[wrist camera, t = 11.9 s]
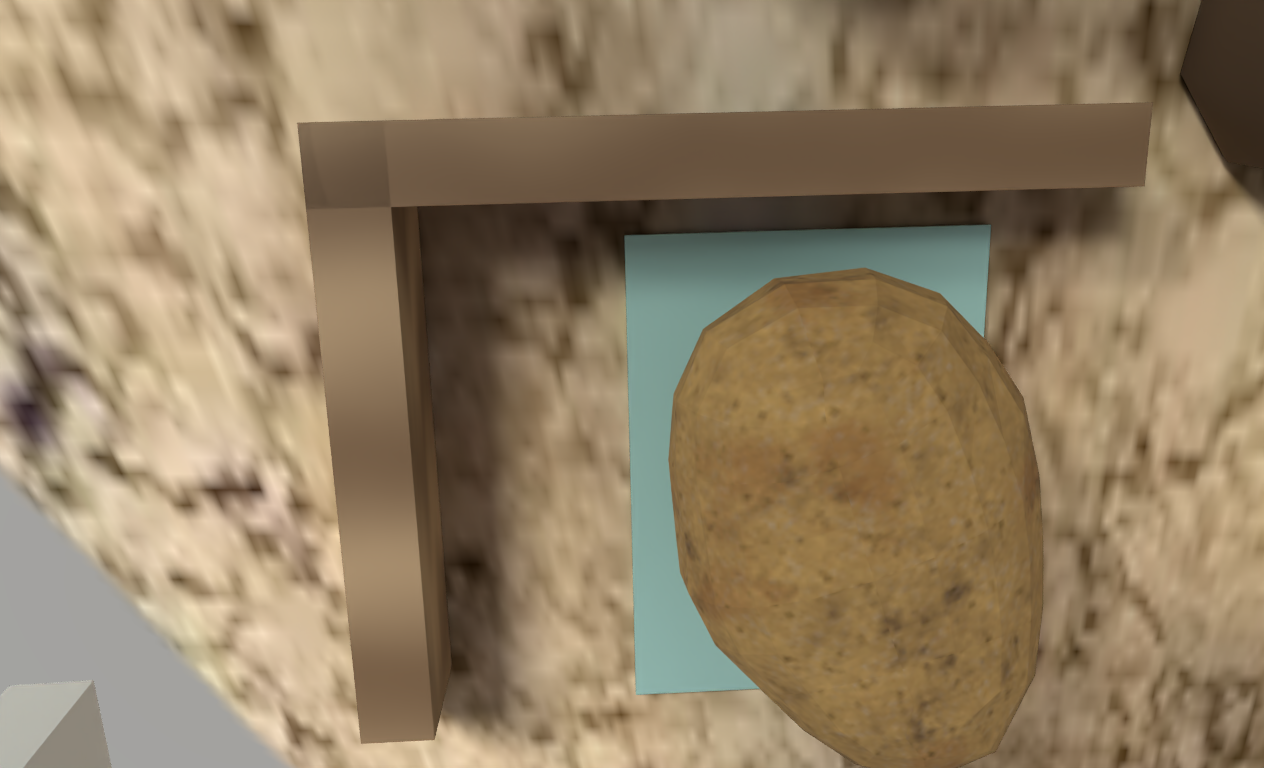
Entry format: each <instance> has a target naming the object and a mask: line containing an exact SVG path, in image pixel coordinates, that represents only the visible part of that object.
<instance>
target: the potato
mask: <svg viewBox="0 0 1264 768" xmlns="http://www.w3.org/2000/svg"><path fill="white" fill-rule="evenodd" d="M668 462H669V472H670V482H671V492H672V502H673V512H674V522H675V532H676V541H677V550H678V559H679V568H680V574H681V576H682V578H683V581H684V583H685V586H686V588H687V591H688V593H689V595H690V597H691V599H692V601H693V603H694V605H695V607H696V609H697V611H698V613H699V615H700V616H701V618H702V620H703V622H704V624H705V626H706V628H707V630H708V632H709V634H710V636H711V638H712V640H713V642H714V644H715V645H716V646H717V647H718V648H719V649H720V650H721V651H722V652H723V653H724V654H725V655H726V656H727V657H728V658H729V659H730V660H731V661H732V662H733V663H734V664H735V665H736V666H737V667H738V668H739V669H740V670H741V671H742V672H743V673H744V674H745V675H746V676H747V677H748V678H750V679H751V680H752V681H753V682H754V683H755V684H756V685H757V686H758V687H759V688H760V689H761V690H762V691H763V692H764V693H765V694H766V695H767V696H768V697H769V698H770V699H771V700H772V701H774V702H775V703H776V704H777V705H778V706H779V707H780V708H781V709H782V710H783V711H784V712H785V713H786V714H787V715H788V716H789V717H790V718H791V719H792V720H793V721H795V722H796V723H797V724H798V725H799V726H800V727H801V728H802V729H803V730H804V731H805V732H807V733H809V734H810V735H812V736H813V737H815V738H816V739H818V740H819V741H821V742H822V743H824V744H825V745H827V746H828V747H830V748H831V749H833V750H835V751H836V752H838V753H839V754H841V755H842V756H844V757H845V758H847V759H848V760H850V761H851V762H853V763H854V764H857V765H861V766H865V767H869V768H958V767H961V766H963V765H966V764H968V763H970V762H973V761H975V760H977V759H980V758H982V757H985V756H987V755H989V754H992V753H994V752H996V750H997V748H998V746H999V744H1000V742H1001V740H1002V738H1003V736H1004V734H1005V732H1006V730H1007V728H1008V726H1009V724H1010V723H1011V721H1012V719H1013V717H1014V715H1015V713H1016V711H1017V709H1018V707H1019V705H1020V703H1021V701H1022V699H1023V697H1024V695H1025V693H1026V691H1027V689H1028V687H1029V686H1030V684H1031V682H1032V680H1033V678H1034V676H1035V670H1036V661H1037V652H1038V644H1039V635H1040V626H1041V618H1042V609H1043V532H1042V515H1041V497H1040V480H1039V472H1038V467H1037V462H1036V457H1035V452H1034V447H1033V442H1032V438H1031V433H1030V428H1029V423H1028V418H1027V413H1026V408H1025V404H1024V399H1023V396H1022V395H1021V393H1020V392H1019V390H1018V389H1017V387H1016V385H1015V384H1014V382H1013V381H1012V379H1011V378H1010V376H1009V375H1008V373H1007V371H1006V370H1005V368H1004V367H1003V365H1002V364H1001V362H1000V360H999V359H998V357H997V356H996V354H995V353H994V351H993V350H992V348H991V346H990V345H989V343H988V342H987V341H986V340H985V339H984V338H983V337H982V336H981V335H980V334H979V333H978V332H977V331H976V330H975V328H974V327H973V326H972V325H971V324H970V323H969V322H968V321H967V320H966V319H965V318H964V317H963V316H962V315H961V314H960V313H959V312H958V311H957V310H956V309H955V308H954V307H953V306H952V305H951V304H950V303H949V302H948V301H947V300H946V299H945V298H944V297H943V296H942V295H941V294H940V293H938V292H935V291H933V290H930V289H927V288H924V287H921V286H918V285H915V284H912V283H909V282H906V281H903V280H900V279H897V278H894V277H892V276H889V275H886V274H883V273H880V272H877V271H874V270H871V269H868V268H857V269H848V270H840V271H831V272H823V273H815V274H806V275H798V276H789V277H781V278H774V279H772V280H771V281H770V282H768V283H767V284H765V285H764V286H763V287H761V288H760V289H758V290H757V291H756V292H754V293H753V294H751V295H750V296H749V297H747V298H746V299H744V300H743V301H742V302H740V303H739V304H737V305H736V306H735V307H733V308H732V309H730V310H729V311H728V312H726V313H725V314H723V315H722V316H720V317H719V318H718V319H716V320H715V321H713V322H712V323H711V324H709V325H708V326H706V327H705V328H704V329H703V330H702V332H701V334H700V337H699V339H698V341H697V343H696V345H695V348H694V350H693V352H692V354H691V356H690V359H689V361H688V363H687V365H686V367H685V370H684V372H683V374H682V376H681V378H680V381H679V383H678V385H677V387H676V390H675V392H674V394H673V406H672V419H671V432H670V444H669V457H668Z"/></svg>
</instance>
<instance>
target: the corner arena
mask: <svg viewBox="0 0 1264 768" xmlns="http://www.w3.org/2000/svg"><path fill="white" fill-rule="evenodd" d="M1152 106H1153V102H1151V103H1109V104H1067V105H1024V106H982V107H940V108H898V109H856V110H814V111H772V112H729V113H687V114H645V115H603V116H561V117H519V118H477V119H434V120H392V121H350V122H308V123H297V124H298V134H299V144H300V153H301V163H302V173H303V183H304V192H305V202H306V212H307V222H308V231H309V241H310V251H311V261H312V270H313V280H314V290H315V300H316V309H317V319H318V329H319V338H320V348H321V358H322V368H323V377H324V387H325V397H326V407H327V416H328V426H329V436H330V446H331V455H332V465H333V475H334V485H335V494H336V504H337V514H338V524H339V533H340V543H341V553H342V563H343V572H344V582H345V592H346V602H347V611H348V621H349V631H350V641H351V650H352V660H353V670H354V680H355V689H356V699H357V709H358V719H359V728H360V738H361V744H364V743H384V742H403V741H423V740H435V736H436V731H437V727H438V723H439V718H440V714H441V710H442V705H443V701H444V697H445V692H446V688H447V684H448V679H449V675H450V671H451V667H452V659H451V646H450V633H449V620H448V606H447V593H446V580H445V567H444V553H443V540H442V527H441V514H440V500H439V487H438V474H437V461H436V447H435V434H434V421H433V408H432V394H431V381H430V368H429V355H428V341H427V328H426V315H425V302H424V288H423V275H422V262H421V249H420V235H419V222H418V209H417V206H444V205H481V204H517V203H553V202H590V201H626V200H662V199H699V198H735V197H771V196H807V195H844V194H880V193H916V192H953V191H989V190H1025V189H1062V188H1098V187H1134V186H1144V185H1145V175H1146V165H1147V155H1148V145H1149V136H1150V126H1151V116H1152Z"/></svg>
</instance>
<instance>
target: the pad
mask: <svg viewBox="0 0 1264 768" xmlns="http://www.w3.org/2000/svg"><path fill="white" fill-rule="evenodd" d="M990 234H991V225H989V224H981V225H947V226H912V227H878V228H844V229H809V230H775V231H740V232H706V233H672V234H637V235H624V240H625V280H626V320H627V360H628V400H629V439H630V479H631V519H632V559H633V599H634V638H635V678H636V695H641V694H661V693H681V692H701V691H721V690H742V689H760V688H759V687H758V686H757V685H756V684H755V683H754V682H753V681H752V680H751V679H750V678H748V677H747V676H746V675H745V674H744V673H743V672H742V671H741V670H740V669H739V668H738V667H737V666H736V665H735V664H734V663H733V662H732V661H731V660H730V659H729V658H728V657H727V656H726V655H725V654H724V653H723V652H722V651H721V650H720V649H719V648H718V647H717V646H716V645H715V644H714V642H713V640H712V638H711V636H710V634H709V632H708V630H707V628H706V626H705V624H704V622H703V620H702V618H701V616H700V615H699V613H698V611H697V609H696V607H695V605H694V603H693V601H692V599H691V597H690V595H689V593H688V591H687V588H686V586H685V583H684V581H683V578H682V576H681V574H680V568H679V559H678V550H677V541H676V532H675V522H674V512H673V502H672V492H671V482H670V472H669V462H668V457H669V444H670V432H671V419H672V406H673V394H674V392H675V390H676V387H677V385H678V383H679V381H680V378H681V376H682V374H683V372H684V370H685V367H686V365H687V363H688V361H689V359H690V356H691V354H692V352H693V350H694V348H695V345H696V343H697V341H698V339H699V337H700V334H701V332H702V330H703V329H704V328H705V327H706V326H708V325H709V324H711V323H712V322H713V321H715V320H716V319H718V318H719V317H720V316H722V315H723V314H725V313H726V312H728V311H729V310H730V309H732V308H733V307H735V306H736V305H737V304H739V303H740V302H742V301H743V300H744V299H746V298H747V297H749V296H750V295H751V294H753V293H754V292H756V291H757V290H758V289H760V288H761V287H763V286H764V285H765V284H767V283H768V282H770V281H771V280H772V279H774V278H781V277H789V276H798V275H806V274H815V273H823V272H831V271H840V270H848V269H857V268H868V269H871V270H874V271H877V272H880V273H883V274H886V275H889V276H892V277H894V278H897V279H900V280H903V281H906V282H909V283H912V284H915V285H918V286H921V287H924V288H927V289H930V290H933V291H935V292H938V293H940V294H941V295H942V296H943V297H944V298H945V299H946V300H947V301H948V302H949V303H950V304H951V305H952V306H953V307H954V308H955V309H956V310H957V311H958V312H959V313H960V314H961V315H962V316H963V317H964V318H965V319H966V320H967V321H968V322H969V323H970V324H971V325H972V326H973V327H974V328H975V330H976V331H977V332H978V333H979V334H980V335H981V336H982V337H983V338H984V326H985V311H986V295H987V280H988V265H989V249H990Z"/></svg>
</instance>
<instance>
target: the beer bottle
mask: <svg viewBox="0 0 1264 768" xmlns="http://www.w3.org/2000/svg"><path fill="white" fill-rule="evenodd" d="M1180 74H1181V75H1182V77H1183V79H1184V81H1185V83H1186V85H1187V87H1188V89H1189V91H1190V93H1191V95H1192V97H1193V99H1194V100H1195V102H1196V104H1197V106H1198V108H1199V110H1200V112H1201V114H1202V116H1203V118H1204V120H1205V122H1206V124H1207V125H1208V127H1209V129H1210V131H1211V133H1212V135H1213V137H1214V139H1215V141H1216V143H1217V145H1218V147H1219V149H1220V150H1221V152H1222V154H1223V156H1224V158H1225V159H1226V160H1227V162H1231V163H1236V164H1242V165H1247V166H1252V167H1257V168H1263V169H1264V0H1202V1H1201V5H1200V8H1199V11H1198V15H1197V18H1196V22H1195V25H1194V28H1193V32H1192V35H1191V39H1190V42H1189V46H1188V49H1187V52H1186V56H1185V59H1184V63H1183V66H1182V69H1181V73H1180Z"/></svg>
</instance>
